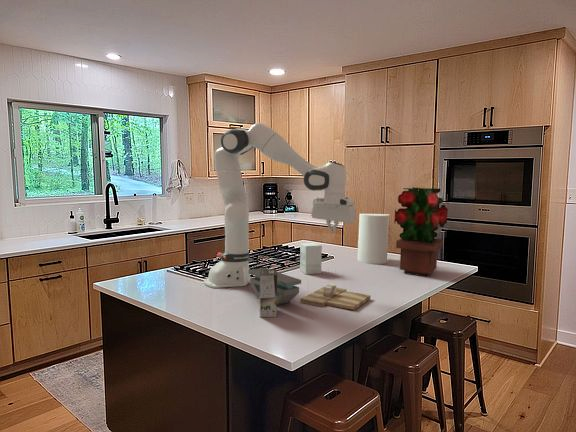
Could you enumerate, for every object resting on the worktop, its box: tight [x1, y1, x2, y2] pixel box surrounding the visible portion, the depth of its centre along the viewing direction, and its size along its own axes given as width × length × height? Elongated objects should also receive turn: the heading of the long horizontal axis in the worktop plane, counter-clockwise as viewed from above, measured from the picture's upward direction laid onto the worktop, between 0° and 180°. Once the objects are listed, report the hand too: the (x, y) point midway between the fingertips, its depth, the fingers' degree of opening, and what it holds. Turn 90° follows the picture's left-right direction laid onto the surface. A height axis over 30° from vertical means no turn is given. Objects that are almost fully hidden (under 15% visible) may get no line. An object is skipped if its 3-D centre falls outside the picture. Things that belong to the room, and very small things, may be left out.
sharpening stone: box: [249, 267, 302, 306], centre depth 182 cm, size 25×8×11 cm, turn 40°
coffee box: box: [259, 268, 278, 318], centre depth 166 cm, size 9×6×16 cm
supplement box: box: [299, 242, 323, 275], centre depth 230 cm, size 9×9×15 cm
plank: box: [325, 290, 371, 311], centre depth 183 cm, size 18×12×1 cm
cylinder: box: [357, 213, 390, 265], centre depth 260 cm, size 17×17×28 cm
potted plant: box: [393, 186, 448, 277], centre depth 233 cm, size 22×22×45 cm
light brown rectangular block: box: [299, 283, 347, 308], centre depth 188 cm, size 24×10×6 cm, turn 149°
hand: (331, 230), depth 194 cm, fingers closed
